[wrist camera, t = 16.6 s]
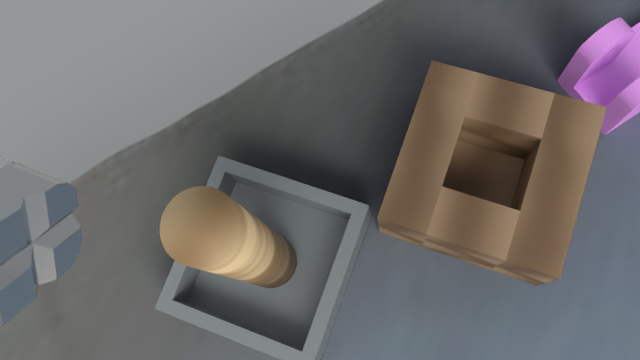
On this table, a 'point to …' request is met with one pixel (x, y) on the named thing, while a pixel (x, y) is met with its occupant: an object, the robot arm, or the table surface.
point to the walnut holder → (492, 173)
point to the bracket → (607, 72)
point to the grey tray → (304, 286)
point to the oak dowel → (225, 239)
